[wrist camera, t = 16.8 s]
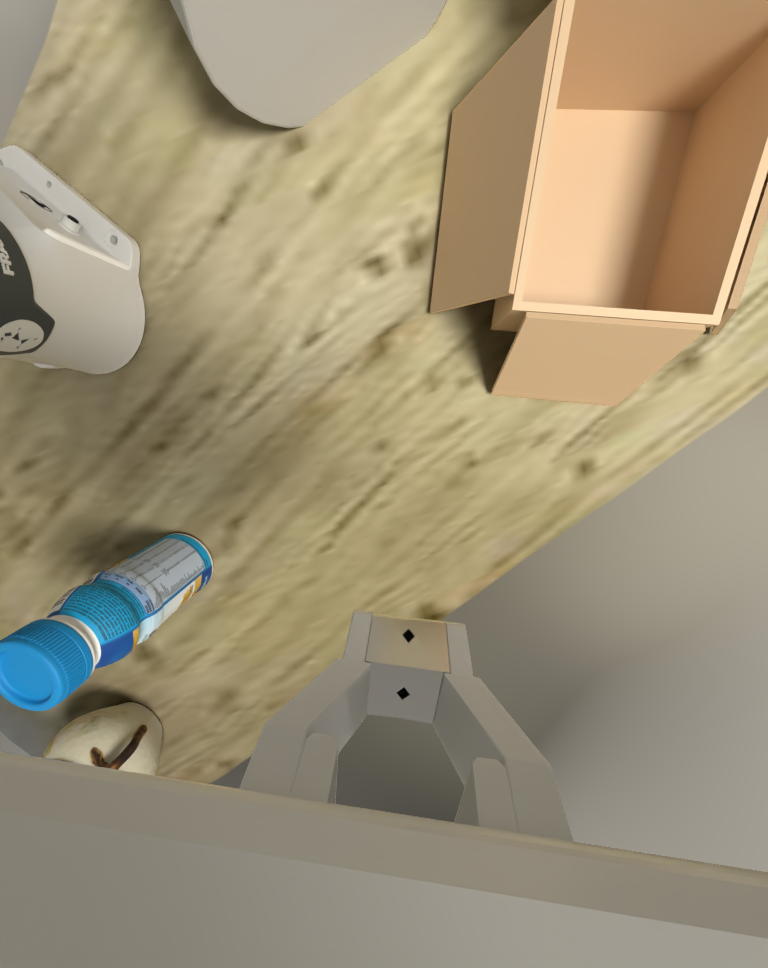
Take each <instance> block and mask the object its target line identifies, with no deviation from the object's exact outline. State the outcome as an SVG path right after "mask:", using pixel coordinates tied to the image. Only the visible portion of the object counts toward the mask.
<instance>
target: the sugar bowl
mask: <svg viewBox="0 0 768 968" xmlns="http://www.w3.org/2000/svg"><path fill="white" fill-rule="evenodd" d="M162 734H163V730H162V725H161V723H160V721H159V720H158V718H157V717H156V716H155V715H154V713H153V712H152V711H150V710H149V709H148V708H146V707H145V706H143V705H141V704H138V703H134V702H127V703H123V704H120V705H117V706H112V707H107V708H102V709H98V710H95V711H92V712H89V713H87V714H84V715H82V716H80V717H78V718H76V719H74V720H73V721H71V722H69V723H68V724H67V725H65V726H64V727H63V728H62V729H61V730H59V731H58V732H57V734H56V735H55V736H54V737H53V738H52V740H51V741H50V742H49V744H48V746H47V747H46V749H45V751H44V754H43V756H42V758H47V759H53V760H60V761H66V762H72V763H79V764H85V765H91V766H97V767H104V768H110V769H116V770H123V771H129V772H135V773H142V774H148V775H154V776H157V773H158V768H159V762H160V751H161V739H162Z"/></svg>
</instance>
